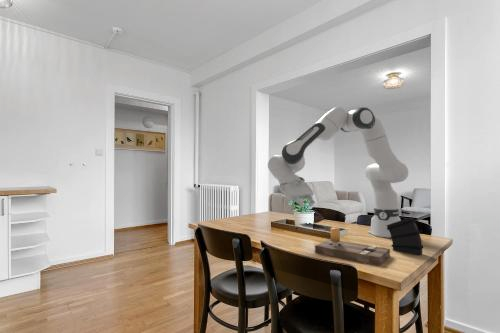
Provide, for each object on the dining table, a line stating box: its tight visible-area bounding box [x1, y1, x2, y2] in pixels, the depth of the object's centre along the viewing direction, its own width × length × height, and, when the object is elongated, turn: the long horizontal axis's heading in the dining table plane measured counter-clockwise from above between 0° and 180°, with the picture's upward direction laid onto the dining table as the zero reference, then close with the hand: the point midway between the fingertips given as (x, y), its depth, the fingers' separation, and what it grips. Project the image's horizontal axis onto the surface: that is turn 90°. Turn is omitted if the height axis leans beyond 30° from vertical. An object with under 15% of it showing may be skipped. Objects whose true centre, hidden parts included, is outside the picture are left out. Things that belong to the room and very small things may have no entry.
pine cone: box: [313, 209, 325, 224], centre depth 178 cm, size 18×10×10 cm, turn 51°
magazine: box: [387, 216, 424, 256], centre depth 119 cm, size 4×13×15 cm, turn 42°
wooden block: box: [330, 226, 341, 246], centre depth 121 cm, size 4×4×10 cm
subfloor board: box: [314, 238, 391, 266], centre depth 116 cm, size 14×26×3 cm, turn 50°
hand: (308, 204), depth 129 cm, fingers open, 8 cm apart
